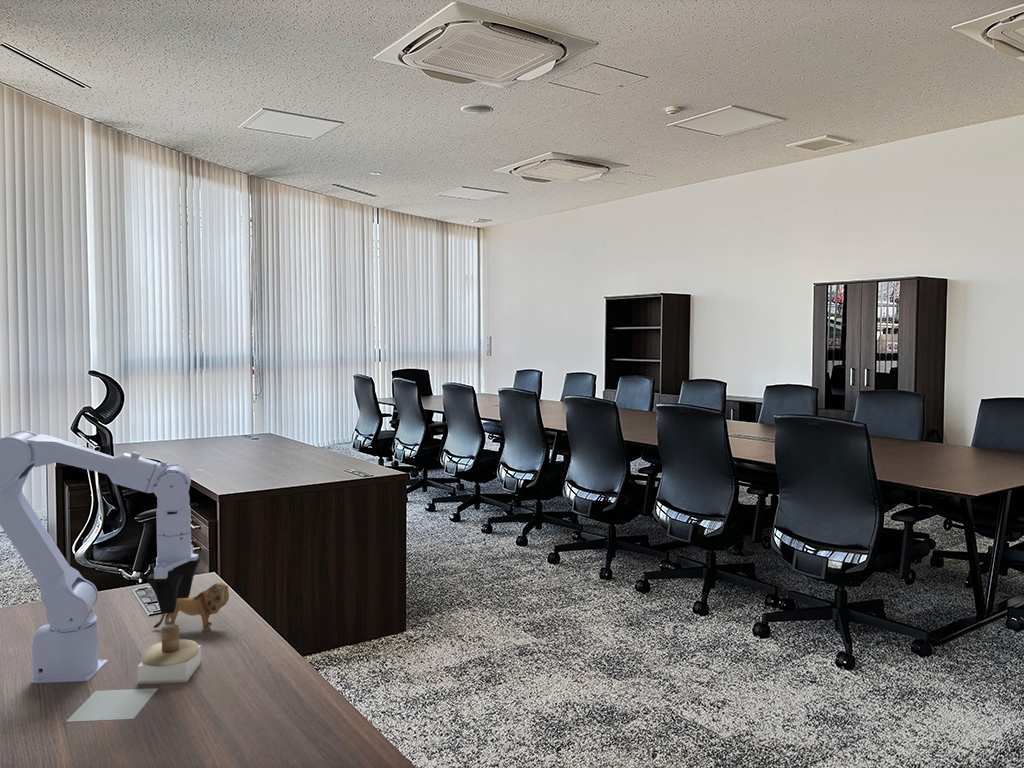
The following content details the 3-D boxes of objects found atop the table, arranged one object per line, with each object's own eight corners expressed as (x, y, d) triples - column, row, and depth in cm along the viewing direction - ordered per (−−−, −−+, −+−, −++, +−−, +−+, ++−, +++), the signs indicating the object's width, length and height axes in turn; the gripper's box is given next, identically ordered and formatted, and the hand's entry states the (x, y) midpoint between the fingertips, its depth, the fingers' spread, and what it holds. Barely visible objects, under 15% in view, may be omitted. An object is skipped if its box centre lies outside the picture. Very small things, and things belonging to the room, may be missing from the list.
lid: (134, 668, 125) (134, 639, 124) (151, 646, 134) (151, 619, 133) (190, 664, 126) (190, 636, 126) (204, 643, 135) (203, 616, 135)
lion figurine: (231, 620, 156) (230, 578, 155) (227, 629, 150) (226, 586, 150) (156, 625, 152) (155, 583, 152) (149, 635, 147) (148, 591, 147)
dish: (137, 686, 126) (137, 666, 126) (155, 665, 134) (155, 646, 133) (186, 684, 127) (186, 664, 126) (201, 663, 134) (200, 645, 134)
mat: (65, 724, 113) (65, 721, 113) (95, 693, 123) (95, 690, 123) (133, 721, 114) (133, 718, 114) (157, 690, 124) (157, 688, 124)
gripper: (183, 542, 128) (184, 619, 129) (208, 522, 142) (210, 590, 143) (140, 543, 127) (142, 620, 128) (170, 522, 141) (172, 591, 142)
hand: (175, 605), depth 135 cm, fingers open, 7 cm apart
